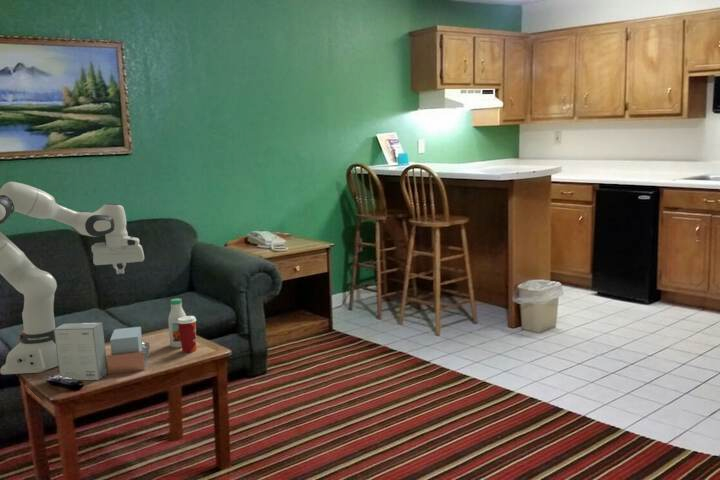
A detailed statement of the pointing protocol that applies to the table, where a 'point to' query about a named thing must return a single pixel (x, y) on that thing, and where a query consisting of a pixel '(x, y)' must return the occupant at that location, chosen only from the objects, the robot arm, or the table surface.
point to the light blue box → (126, 340)
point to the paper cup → (187, 333)
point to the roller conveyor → (128, 360)
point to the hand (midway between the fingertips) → (120, 273)
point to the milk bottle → (175, 322)
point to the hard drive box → (81, 351)
